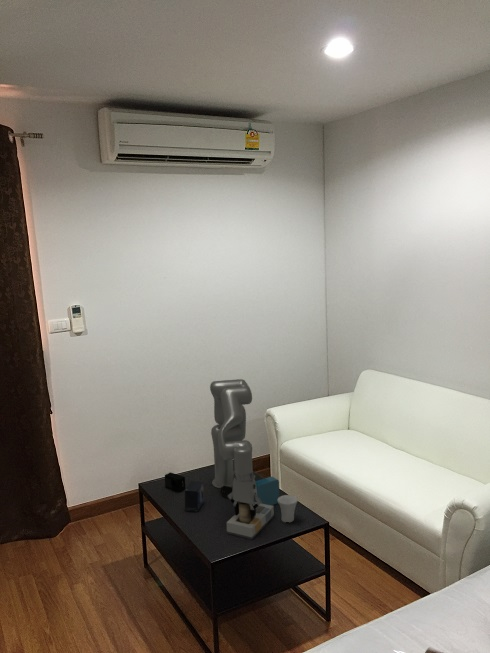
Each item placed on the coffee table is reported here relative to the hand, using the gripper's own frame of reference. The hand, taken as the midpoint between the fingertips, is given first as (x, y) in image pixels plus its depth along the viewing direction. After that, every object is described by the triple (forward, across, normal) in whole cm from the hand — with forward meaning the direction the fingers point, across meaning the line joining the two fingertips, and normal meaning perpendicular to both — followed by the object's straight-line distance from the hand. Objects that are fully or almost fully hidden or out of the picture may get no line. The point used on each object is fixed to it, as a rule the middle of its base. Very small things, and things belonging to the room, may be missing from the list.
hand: (245, 515), depth 228 cm
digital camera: (+7, +52, -21) cm, 57 cm away
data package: (+7, +2, -25) cm, 26 cm away
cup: (+7, -13, -15) cm, 21 cm away
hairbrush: (+7, +16, -24) cm, 30 cm away
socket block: (+7, 0, -5) cm, 8 cm away
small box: (+7, +32, -9) cm, 34 cm away
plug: (+6, 0, 0) cm, 6 cm away
